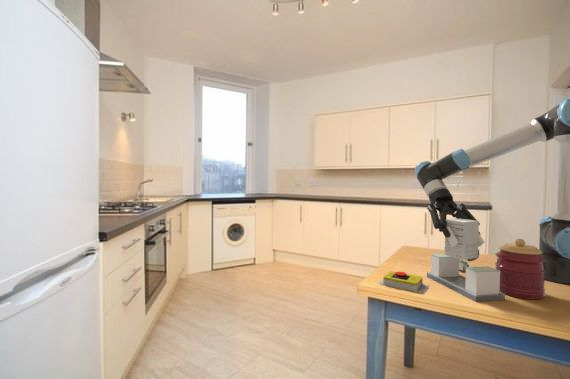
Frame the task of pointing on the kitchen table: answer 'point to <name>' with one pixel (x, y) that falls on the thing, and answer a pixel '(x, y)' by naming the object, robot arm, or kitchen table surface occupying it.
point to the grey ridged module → (463, 238)
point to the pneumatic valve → (465, 263)
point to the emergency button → (404, 281)
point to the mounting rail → (459, 286)
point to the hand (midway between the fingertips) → (468, 244)
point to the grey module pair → (467, 274)
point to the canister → (521, 270)
